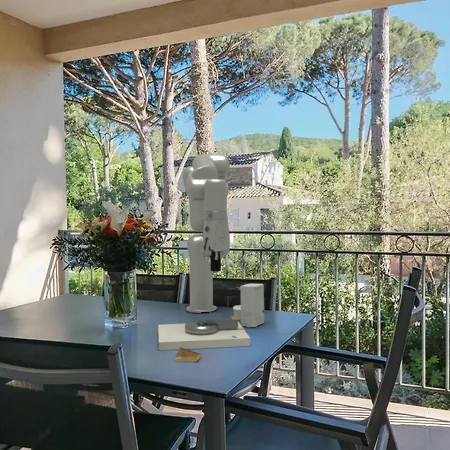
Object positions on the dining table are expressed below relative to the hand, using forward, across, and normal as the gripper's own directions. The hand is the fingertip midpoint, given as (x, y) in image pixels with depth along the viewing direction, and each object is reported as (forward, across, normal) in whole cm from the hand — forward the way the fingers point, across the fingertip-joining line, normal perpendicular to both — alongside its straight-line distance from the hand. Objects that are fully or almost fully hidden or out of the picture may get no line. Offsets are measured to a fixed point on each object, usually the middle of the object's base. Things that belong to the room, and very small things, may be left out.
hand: (215, 271), depth 164 cm
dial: (+19, -4, -1) cm, 19 cm away
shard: (+22, -26, -6) cm, 34 cm away
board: (+22, -7, +1) cm, 23 cm away
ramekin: (+23, +25, +4) cm, 34 cm away
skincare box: (+22, +18, -4) cm, 29 cm away
